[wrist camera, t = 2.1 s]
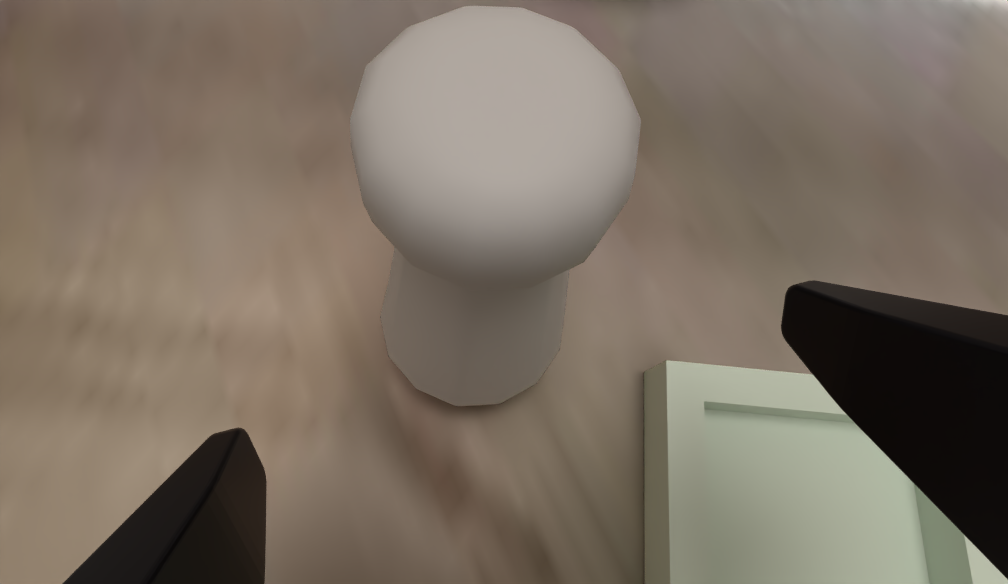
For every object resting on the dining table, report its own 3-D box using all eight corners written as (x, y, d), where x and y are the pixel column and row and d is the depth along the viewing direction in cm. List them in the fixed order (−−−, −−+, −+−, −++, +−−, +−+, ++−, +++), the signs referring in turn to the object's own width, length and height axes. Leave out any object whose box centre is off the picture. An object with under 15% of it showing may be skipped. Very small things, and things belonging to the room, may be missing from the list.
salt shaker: (356, 323, 19) (179, 54, 7) (478, 229, 21) (512, -126, 8) (464, 451, 18) (483, 406, 6) (583, 342, 20) (800, 124, 7)
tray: (974, 737, 17) (1048, 775, 15) (645, 717, 16) (673, 753, 14) (917, 398, 20) (971, 390, 18) (643, 372, 19) (666, 360, 17)
